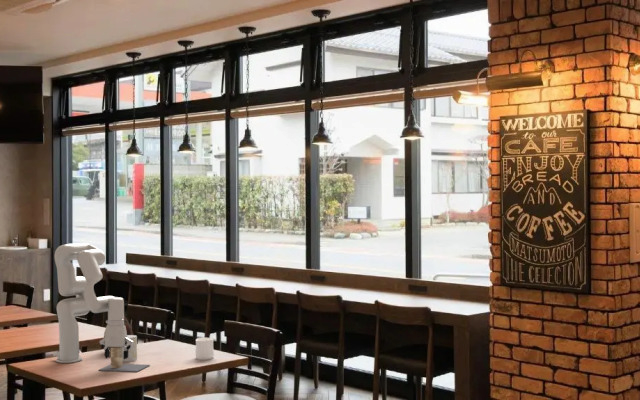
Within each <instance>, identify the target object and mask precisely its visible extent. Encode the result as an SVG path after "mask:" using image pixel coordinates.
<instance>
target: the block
mask: <svg viewBox="0 0 640 400" xmlns="http://www.w3.org/2000/svg"><path fill="white" fill-rule="evenodd" d="M110 364H111V368H120V367H122V364H123V361H122V347H111V352H110Z"/></svg>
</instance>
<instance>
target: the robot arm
mask: <svg viewBox="0 0 640 400" xmlns="http://www.w3.org/2000/svg"><path fill="white" fill-rule="evenodd" d="M71 261H77V263H78V265H79V269H80V270H81V273H82V275H83V276H82V275H78V276H76V269H75V267H74V265H73V263H72V262H71ZM54 262H55V266H56V272H57V273H56V274H57V285H58V286H57V287H58V293H59V294H60V295H61V296H63V297H70V298H65V299H64V298H63V299H62V300H59V302H58V303H57V304H56V313H57V318H58V319H57V320H58V333H59V334H58V337H59V338H58V339H59V340H58V345H59V351H58V352H57V351H54V352H53V355H52V356H53V357H57V358H56V363H61V364H68V363H69V364H70V363H78V362H80V361H83V356H81V355H80V340H79V339H80V332H79V331H80V330H79V323H78V321H77V319H76V317H80V316H85V315H87V314H88V313H90V312H91V313H94V314H99V313H105V312H107V320H105V323H106V324H108V326H107V325H106V326H107V327H106V326H105V329H106V332H105V331H104V332H105V338H104V337H103V338H101V339H100V340H99V344H100V346H101V348H102V349H103V351H104V356H105V359H108V358H111V352H110V350H109V347H123V349H124V350H125V351H124V359H127V358H128V350H129V349H130V348H131V347H132V344H133V341H132V340H130V339H128V338H127V331H126V327H125V325H124V317H125V306H124V300H123V299H124V298H123V297H121V296H120V297H118V296H113V295H105V296H98V297H97V296H96V295H97V294H96V292H95V289H94V286H95V284H97V283H98V282H100V281H101V280H102V279H103V276H104V275H103V273H102V270H101V267H100V266H102V265H104V264H105V262H106V255H105V253H104V251H103V250H101V249H100V248H98V247H96V246H94V245H92V244H90V243H87V242H77V243H76V242H75V243H66V244H62V245H59V246H58V247H57V248H56V250H55V251H54ZM71 296H75V297H71ZM104 341H105V342H104ZM127 342H129V345H128V346H127Z"/></svg>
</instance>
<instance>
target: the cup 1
mask: <svg viewBox="0 0 640 400" xmlns="http://www.w3.org/2000/svg"><path fill="white" fill-rule="evenodd" d="M127 338H128V339H130V340H132V341H133V344H132V347H131V348H130V349H129V350H128V358H127V359H124V351H125V350H124V349H123V347H122V363H123V362H124V363H128V362H135V360H136V361H138V336H137V335H134V334H133V335H127ZM128 345H129V342H127V346H128Z"/></svg>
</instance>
